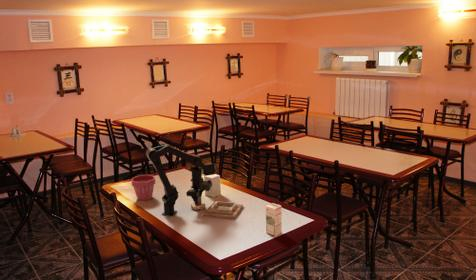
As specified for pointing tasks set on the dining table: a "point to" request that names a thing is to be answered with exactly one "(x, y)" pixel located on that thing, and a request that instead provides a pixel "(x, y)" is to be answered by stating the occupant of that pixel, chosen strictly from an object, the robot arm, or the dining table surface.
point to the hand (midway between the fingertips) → (197, 202)
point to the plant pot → (143, 186)
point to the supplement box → (213, 185)
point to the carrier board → (223, 210)
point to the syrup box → (273, 219)
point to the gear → (199, 205)
